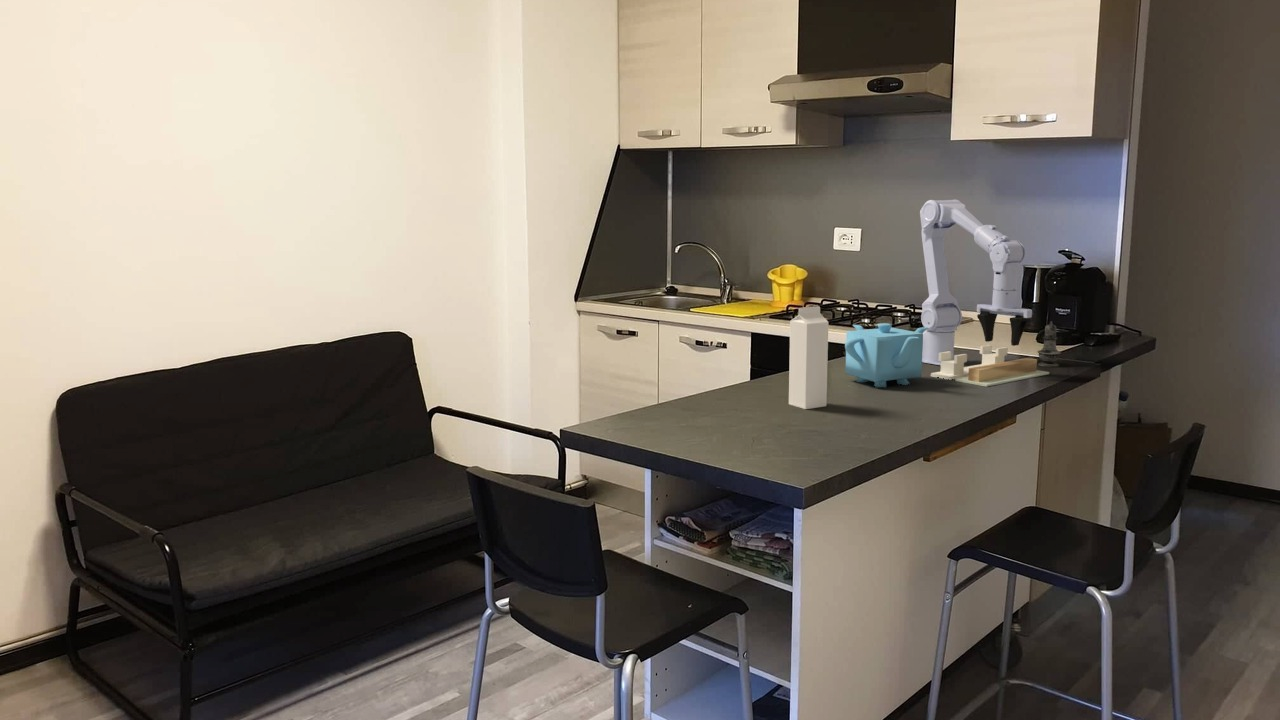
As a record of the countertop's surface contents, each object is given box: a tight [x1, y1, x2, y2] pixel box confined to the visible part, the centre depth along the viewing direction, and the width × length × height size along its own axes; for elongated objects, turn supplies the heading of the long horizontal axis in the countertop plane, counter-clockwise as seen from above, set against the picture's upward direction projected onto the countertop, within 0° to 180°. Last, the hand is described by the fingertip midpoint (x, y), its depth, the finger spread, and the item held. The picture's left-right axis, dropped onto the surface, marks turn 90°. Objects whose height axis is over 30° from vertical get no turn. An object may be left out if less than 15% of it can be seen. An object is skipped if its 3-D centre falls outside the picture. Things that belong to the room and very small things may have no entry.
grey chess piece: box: [1037, 320, 1062, 368], centre depth 258 cm, size 6×6×12 cm
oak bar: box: [968, 357, 1038, 382], centre depth 243 cm, size 3×24×3 cm, turn 125°
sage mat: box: [954, 369, 1050, 387], centre depth 243 cm, size 9×26×1 cm, turn 125°
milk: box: [788, 305, 829, 410], centre depth 212 cm, size 6×6×22 cm
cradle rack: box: [930, 344, 1009, 381], centre depth 250 cm, size 6×26×6 cm, turn 125°
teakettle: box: [844, 322, 929, 388], centre depth 238 cm, size 19×19×15 cm
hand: (1001, 343), depth 244 cm, fingers open, 7 cm apart
